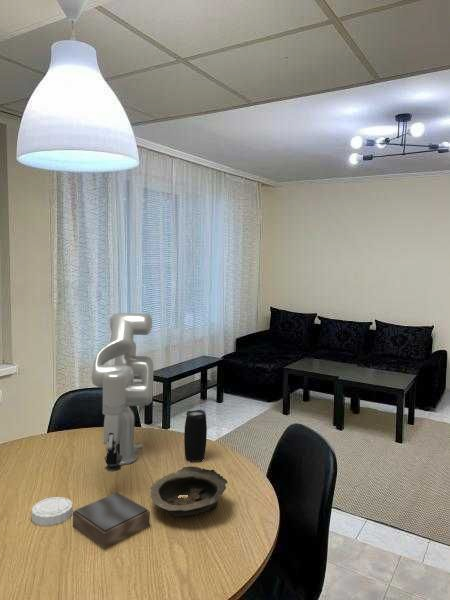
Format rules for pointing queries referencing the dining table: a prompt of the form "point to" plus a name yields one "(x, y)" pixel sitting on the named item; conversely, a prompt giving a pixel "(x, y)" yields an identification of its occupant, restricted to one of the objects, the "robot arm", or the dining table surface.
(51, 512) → the mooncake
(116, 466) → the black chess piece
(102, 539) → the walnut base
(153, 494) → the stone bowl
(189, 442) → the portable speaker
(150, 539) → the dining table surface
